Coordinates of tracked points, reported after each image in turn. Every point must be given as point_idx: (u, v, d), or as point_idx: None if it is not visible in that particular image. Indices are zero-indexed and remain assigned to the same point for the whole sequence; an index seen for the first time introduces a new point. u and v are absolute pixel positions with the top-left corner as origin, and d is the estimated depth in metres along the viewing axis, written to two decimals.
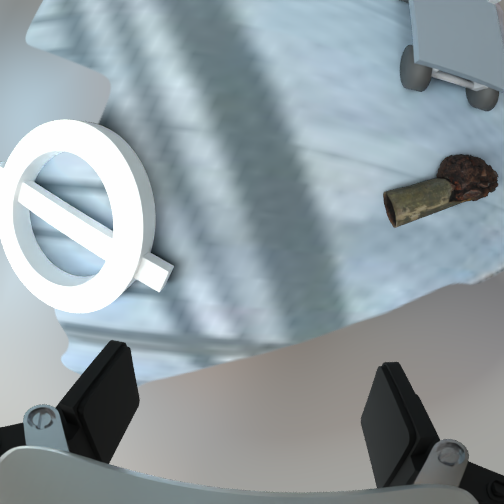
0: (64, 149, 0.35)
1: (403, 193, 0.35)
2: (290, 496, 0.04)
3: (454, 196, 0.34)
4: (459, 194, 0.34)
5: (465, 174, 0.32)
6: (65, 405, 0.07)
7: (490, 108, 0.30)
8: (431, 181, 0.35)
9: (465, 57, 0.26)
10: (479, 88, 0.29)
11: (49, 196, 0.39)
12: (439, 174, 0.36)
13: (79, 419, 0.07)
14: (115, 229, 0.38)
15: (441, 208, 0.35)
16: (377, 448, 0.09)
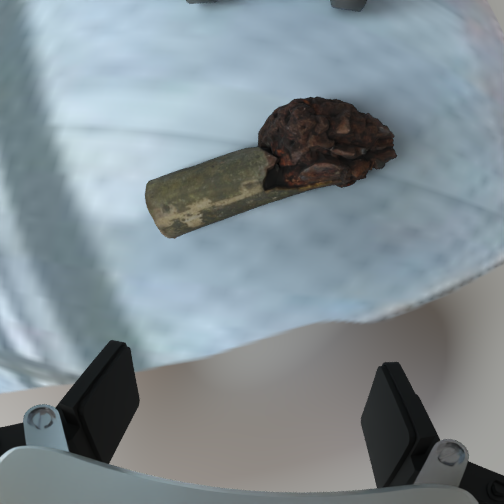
0: None
1: (168, 180, 0.21)
2: (290, 496, 0.04)
3: (280, 178, 0.21)
4: (290, 174, 0.20)
5: (296, 133, 0.19)
6: (65, 405, 0.07)
7: None
8: (231, 154, 0.21)
9: None
10: None
11: None
12: (258, 141, 0.22)
13: (79, 419, 0.07)
14: None
15: (250, 203, 0.21)
16: (377, 448, 0.09)
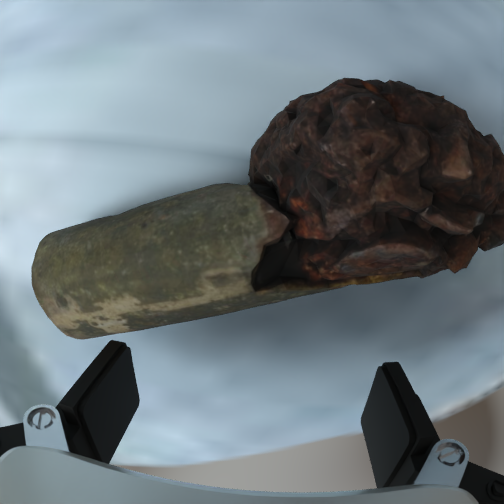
0: None
1: (66, 244, 0.10)
2: (290, 496, 0.04)
3: (293, 262, 0.09)
4: (316, 258, 0.09)
5: (345, 164, 0.07)
6: (65, 405, 0.07)
7: None
8: (187, 197, 0.10)
9: None
10: None
11: None
12: (249, 169, 0.10)
13: (79, 419, 0.07)
14: None
15: (223, 309, 0.10)
16: (377, 448, 0.09)
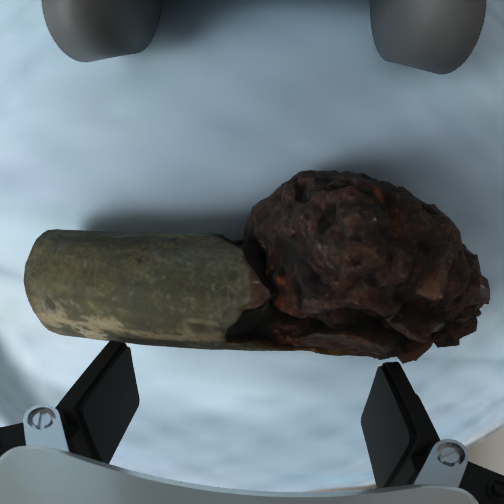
0: None
1: (63, 254, 0.10)
2: (290, 496, 0.04)
3: (264, 324, 0.10)
4: (286, 328, 0.10)
5: (332, 266, 0.08)
6: (65, 405, 0.07)
7: (456, 58, 0.07)
8: (184, 242, 0.10)
9: None
10: None
11: None
12: (246, 226, 0.11)
13: (79, 419, 0.07)
14: None
15: (196, 347, 0.11)
16: (377, 448, 0.09)
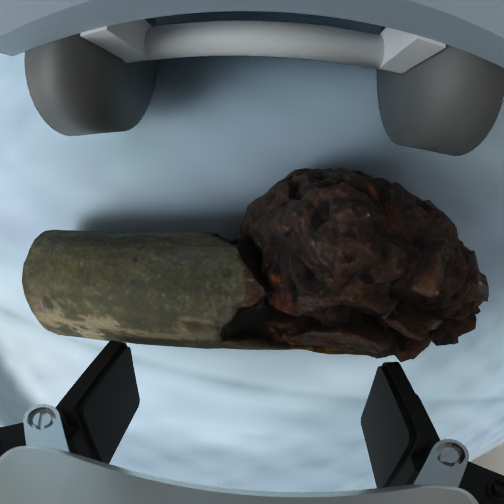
0: None
1: (60, 254, 0.10)
2: (290, 496, 0.04)
3: (260, 322, 0.10)
4: (281, 326, 0.10)
5: (326, 263, 0.08)
6: (65, 405, 0.07)
7: (463, 148, 0.08)
8: (179, 241, 0.10)
9: None
10: (405, 58, 0.07)
11: None
12: None
13: (79, 419, 0.07)
14: None
15: (192, 346, 0.11)
16: (377, 448, 0.09)
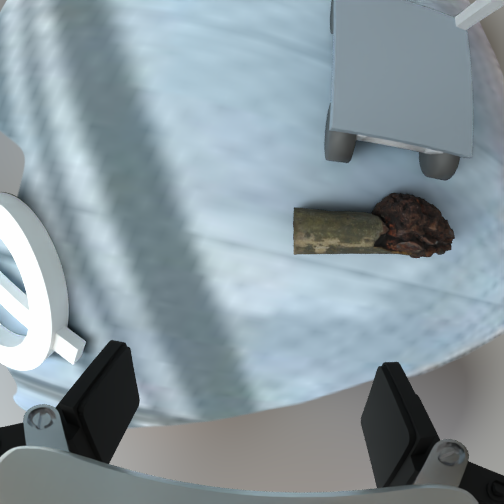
0: None
1: (314, 215, 0.30)
2: (290, 496, 0.04)
3: (384, 241, 0.30)
4: (391, 241, 0.30)
5: (407, 219, 0.28)
6: (65, 405, 0.07)
7: (446, 178, 0.27)
8: (359, 214, 0.30)
9: (408, 115, 0.23)
10: (432, 152, 0.27)
11: None
12: (374, 210, 0.31)
13: (79, 419, 0.07)
14: (30, 307, 0.35)
15: (361, 250, 0.30)
16: (377, 448, 0.09)
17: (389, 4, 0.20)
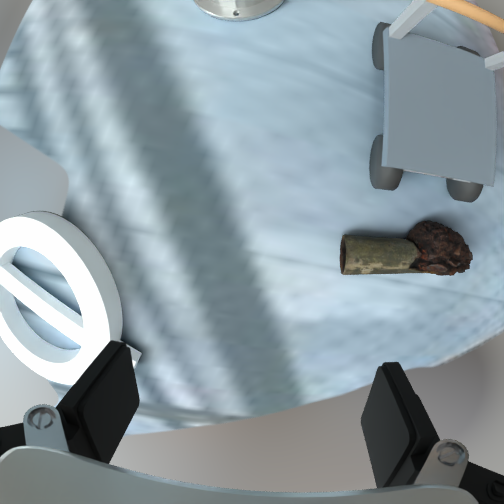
0: (31, 247, 0.36)
1: (362, 243, 0.34)
2: (290, 496, 0.04)
3: (417, 263, 0.34)
4: (422, 264, 0.34)
5: (437, 246, 0.32)
6: (65, 405, 0.07)
7: (470, 201, 0.31)
8: (397, 240, 0.34)
9: (445, 153, 0.27)
10: (460, 180, 0.30)
11: (25, 283, 0.40)
12: (409, 236, 0.35)
13: (79, 419, 0.07)
14: (85, 325, 0.39)
15: (398, 271, 0.35)
16: (377, 448, 0.09)
17: (432, 47, 0.24)
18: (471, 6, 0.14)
